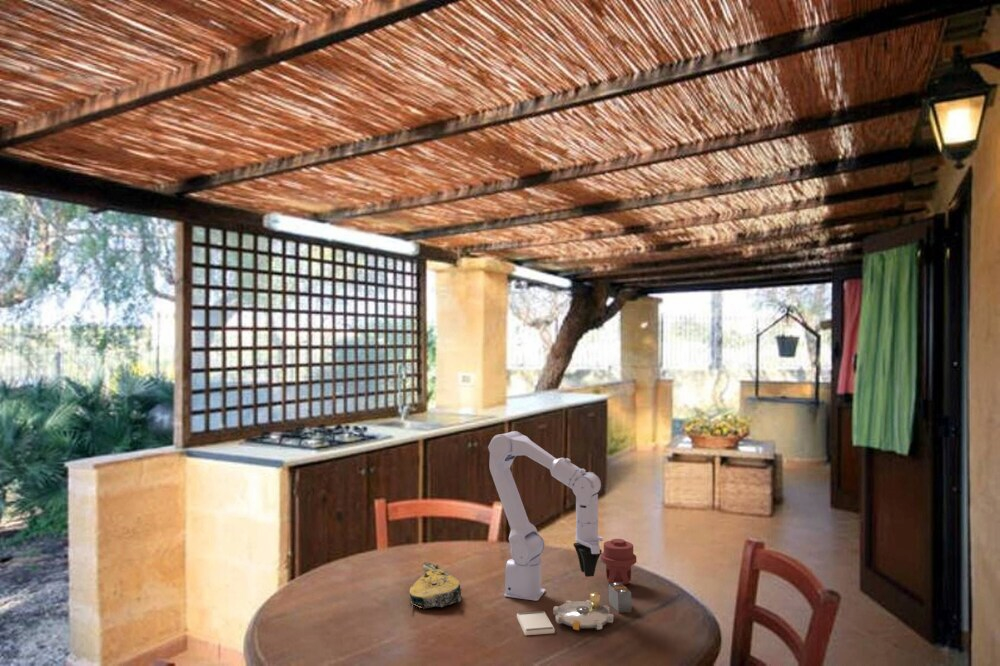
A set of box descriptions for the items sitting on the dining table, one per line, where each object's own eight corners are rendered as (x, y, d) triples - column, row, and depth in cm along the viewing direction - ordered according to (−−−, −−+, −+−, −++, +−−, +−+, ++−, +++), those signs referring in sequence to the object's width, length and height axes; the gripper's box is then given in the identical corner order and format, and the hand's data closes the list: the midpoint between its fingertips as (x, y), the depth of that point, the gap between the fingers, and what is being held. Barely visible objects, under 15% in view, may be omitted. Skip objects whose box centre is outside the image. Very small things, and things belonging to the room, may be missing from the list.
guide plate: (516, 617, 156) (516, 612, 156) (544, 615, 157) (544, 610, 157) (525, 635, 146) (525, 630, 146) (554, 633, 147) (554, 628, 147)
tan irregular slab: (457, 551, 189) (461, 588, 159) (460, 570, 189) (465, 611, 159) (410, 560, 187) (405, 599, 157) (413, 579, 187) (409, 622, 157)
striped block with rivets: (608, 602, 166) (608, 582, 166) (621, 601, 166) (621, 581, 166) (618, 613, 159) (618, 592, 159) (631, 612, 159) (631, 591, 159)
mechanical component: (636, 579, 182) (636, 592, 173) (601, 577, 184) (600, 589, 175) (636, 536, 183) (636, 546, 173) (601, 534, 185) (599, 544, 175)
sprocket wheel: (545, 625, 149) (545, 605, 149) (561, 602, 163) (561, 584, 163) (607, 634, 144) (607, 614, 144) (617, 610, 158) (617, 592, 158)
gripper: (611, 527, 157) (611, 582, 157) (593, 513, 171) (593, 563, 171) (584, 528, 156) (584, 584, 155) (568, 514, 170) (568, 565, 170)
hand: (587, 573), depth 163 cm, fingers open, 3 cm apart
